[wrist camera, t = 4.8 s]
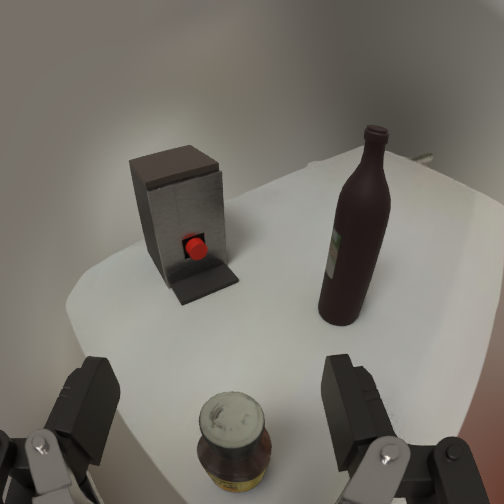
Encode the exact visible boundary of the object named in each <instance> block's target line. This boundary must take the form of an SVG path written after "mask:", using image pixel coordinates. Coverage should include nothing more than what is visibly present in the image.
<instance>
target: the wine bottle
mask: <svg viewBox="0 0 504 504" xmlns="http://www.w3.org/2000/svg"><path fill="white" fill-rule="evenodd" d="M388 138H389V134H388V130H387V129H385V128H383V127H380V126H374V125H367V128H366V129H365V132H364V139H365V145H364V152H363V155H362V159H361V162H360V164H359V165H358V167H357V168H356V170H355V171H354V172H353V174H352V175H351V176H350V177H349V178H348V180H347V181H346V183H345V184H344V186H343V188H342V190H341V193H340V195H339V199H338V203H337V208H336V213H335V220H334V226H333V231H332V237H331V243H330V248H329V254H328V259H327V264H326V269H325V274H324V279H323V284H322V289H321V294H320V299H319V303H318V309H319V313H320V315H321V316H322V318H323V319H324V320H326V321H327V322H329V323H331V324H333V325H339V326H343V325H348V324H351V323H352V322H354V321H355V320H356V318H357V317H358V315H359V313H360V310H361V307H362V304H363V302H364V299H365V296H366V293H367V290H368V287H369V284H370V281H371V278H372V275H373V271H374V268H375V265H376V262H377V259H378V255H379V252H380V248H381V245H382V241H383V238H384V234H385V231H386V227H387V223H388V219H389V214H390V208H391V198H390V192H389V187H388V184H387V181H386V178H385V174H384V169H383V159H384V151H385V145H386V144H387V143H388Z"/></svg>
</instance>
